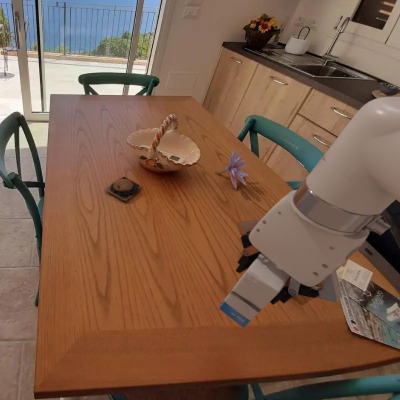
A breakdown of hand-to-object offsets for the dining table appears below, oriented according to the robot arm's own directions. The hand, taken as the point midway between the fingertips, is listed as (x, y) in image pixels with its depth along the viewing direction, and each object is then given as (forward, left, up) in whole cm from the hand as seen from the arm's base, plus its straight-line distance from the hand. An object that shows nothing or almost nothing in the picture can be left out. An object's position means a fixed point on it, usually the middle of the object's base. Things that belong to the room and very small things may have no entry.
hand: (259, 283), depth 45 cm
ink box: (0, 0, -7) cm, 7 cm away
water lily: (+35, -49, -20) cm, 64 cm away
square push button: (+47, -9, -20) cm, 52 cm away
